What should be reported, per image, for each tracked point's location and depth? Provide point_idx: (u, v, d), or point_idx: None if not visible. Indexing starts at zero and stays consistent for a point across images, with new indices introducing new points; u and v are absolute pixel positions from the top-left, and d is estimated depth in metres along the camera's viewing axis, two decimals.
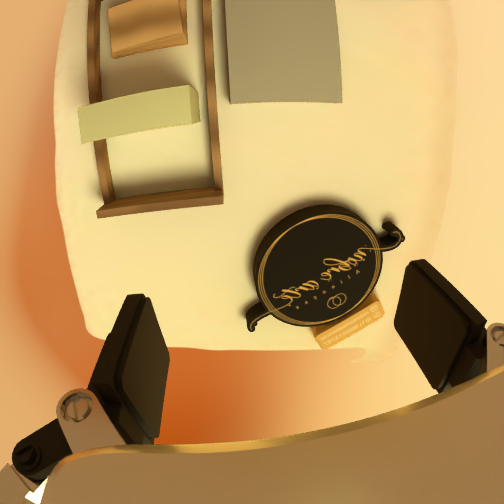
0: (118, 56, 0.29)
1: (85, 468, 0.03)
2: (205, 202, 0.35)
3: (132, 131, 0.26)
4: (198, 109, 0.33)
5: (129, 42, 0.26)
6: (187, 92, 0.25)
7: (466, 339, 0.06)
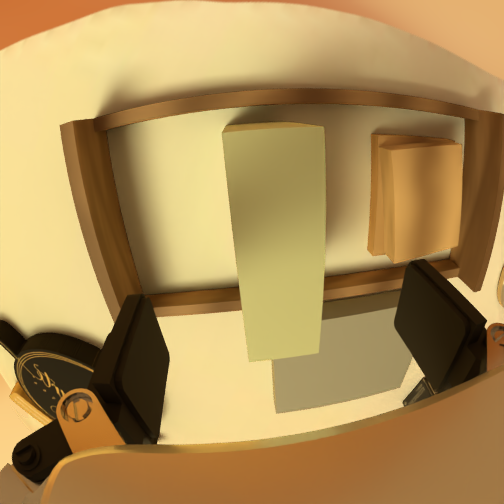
0: (375, 145, 0.20)
1: (85, 468, 0.03)
2: None
3: (240, 270, 0.13)
4: None
5: (400, 181, 0.19)
6: (305, 353, 0.16)
7: (466, 339, 0.06)
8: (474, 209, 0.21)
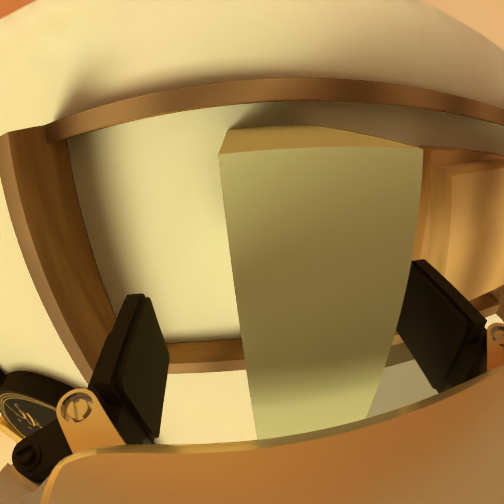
0: (427, 161, 0.14)
1: (85, 468, 0.03)
2: None
3: (254, 386, 0.07)
4: None
5: (458, 216, 0.13)
6: None
7: (466, 339, 0.06)
8: None
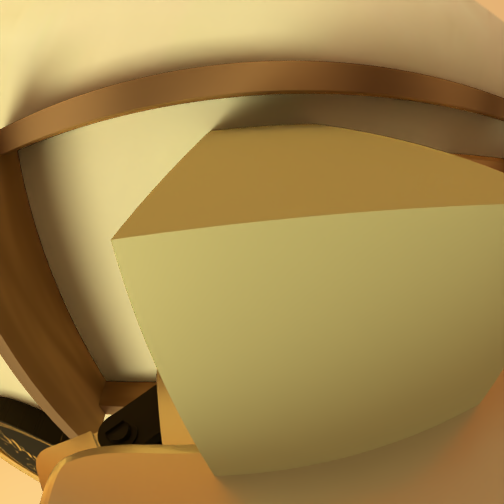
0: None
1: (85, 468, 0.03)
2: (69, 433, 0.11)
3: None
4: None
5: None
6: None
7: None
8: None
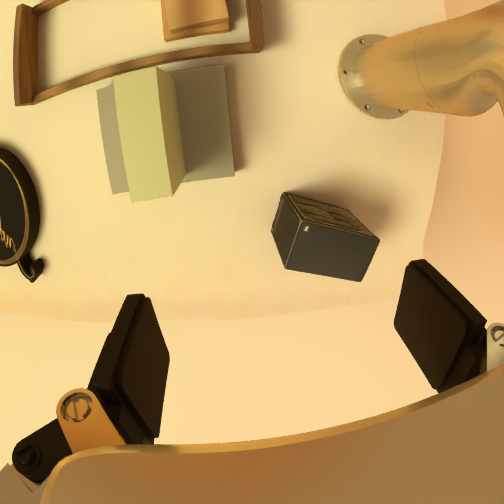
0: None
1: (85, 468, 0.03)
2: (16, 91, 0.24)
3: (121, 139, 0.23)
4: None
5: None
6: (164, 196, 0.26)
7: (466, 339, 0.06)
8: None
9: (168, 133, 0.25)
